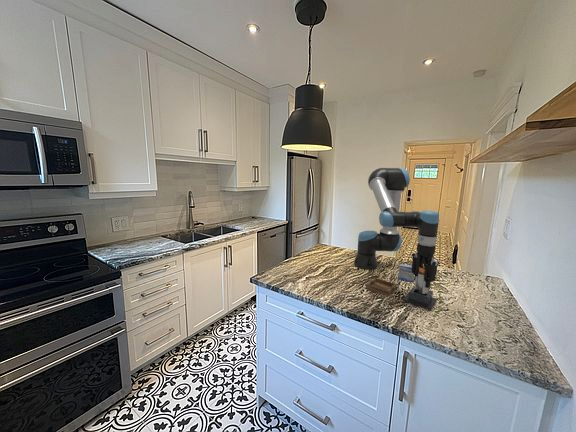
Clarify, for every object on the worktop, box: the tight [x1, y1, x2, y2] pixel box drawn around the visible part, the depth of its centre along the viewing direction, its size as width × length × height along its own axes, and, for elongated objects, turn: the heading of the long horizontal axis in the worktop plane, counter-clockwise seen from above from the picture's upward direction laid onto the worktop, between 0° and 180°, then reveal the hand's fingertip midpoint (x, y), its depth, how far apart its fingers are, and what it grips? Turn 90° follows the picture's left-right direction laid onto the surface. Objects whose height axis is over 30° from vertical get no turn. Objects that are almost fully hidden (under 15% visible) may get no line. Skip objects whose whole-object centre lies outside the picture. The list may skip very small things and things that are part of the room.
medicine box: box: [397, 263, 415, 283], centre depth 143 cm, size 8×4×9 cm, turn 62°
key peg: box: [416, 265, 425, 295], centre depth 117 cm, size 4×4×15 cm
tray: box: [365, 277, 398, 297], centre depth 131 cm, size 12×12×3 cm
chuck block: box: [402, 285, 438, 312], centre depth 118 cm, size 12×12×5 cm
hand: (421, 290), depth 118 cm, fingers closed on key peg, 4 cm apart
